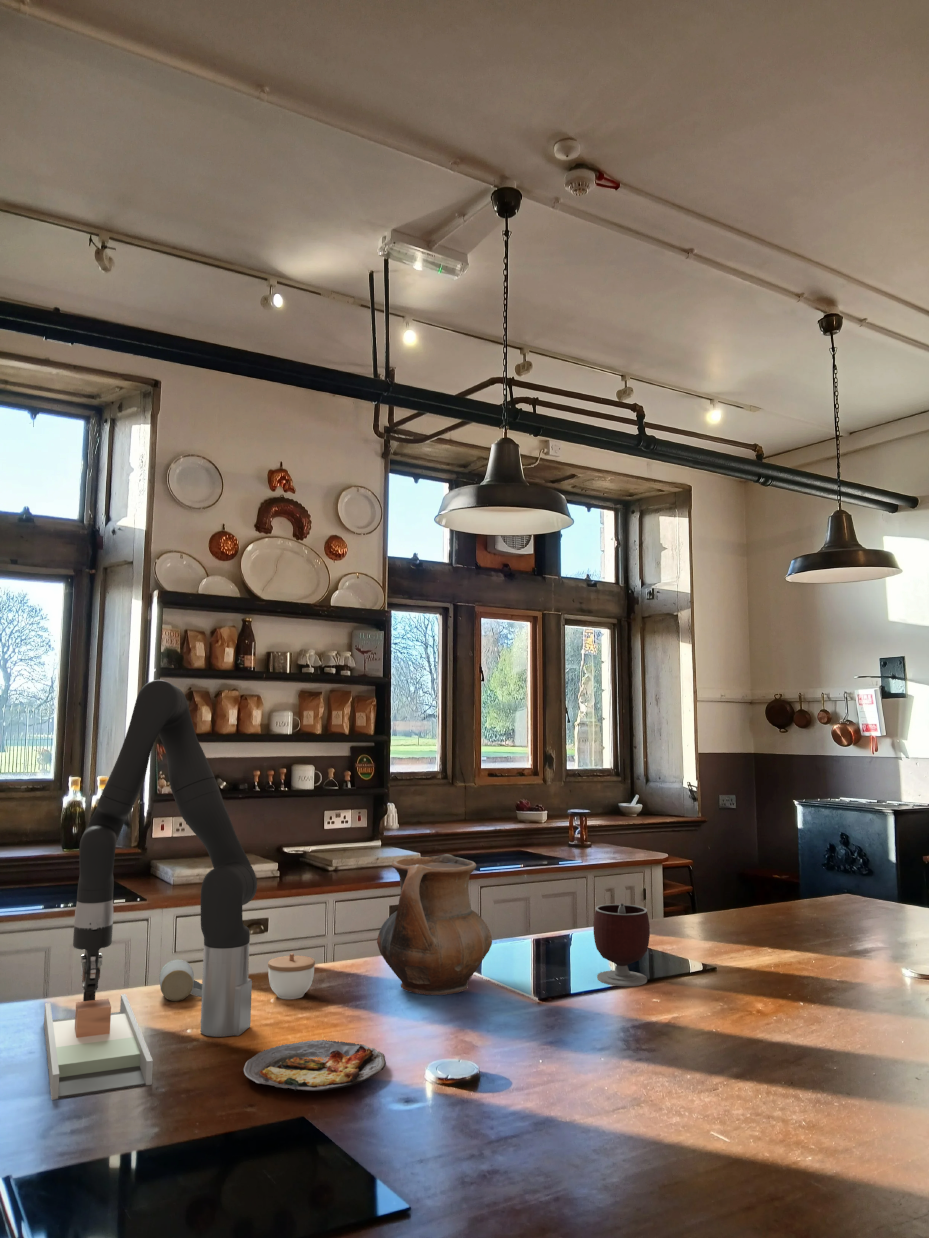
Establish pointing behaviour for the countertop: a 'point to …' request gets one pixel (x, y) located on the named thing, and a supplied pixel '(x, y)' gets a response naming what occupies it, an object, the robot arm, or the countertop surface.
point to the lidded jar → (291, 975)
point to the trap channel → (64, 1035)
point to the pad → (97, 1056)
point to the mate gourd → (621, 941)
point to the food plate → (315, 1065)
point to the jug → (434, 927)
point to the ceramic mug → (178, 981)
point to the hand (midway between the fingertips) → (88, 1009)
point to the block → (92, 1018)
